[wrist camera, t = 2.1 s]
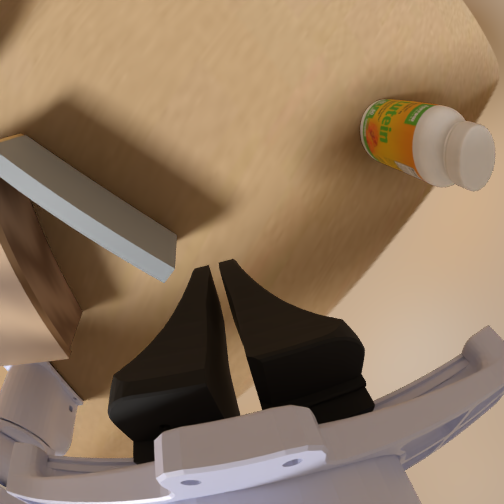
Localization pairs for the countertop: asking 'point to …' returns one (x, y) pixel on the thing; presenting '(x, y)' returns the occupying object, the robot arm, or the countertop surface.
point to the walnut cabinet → (31, 288)
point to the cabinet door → (87, 206)
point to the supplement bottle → (428, 143)
